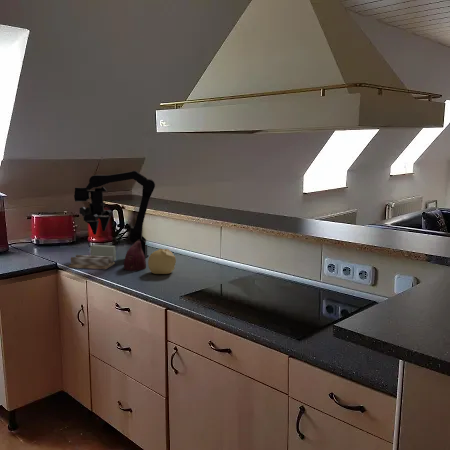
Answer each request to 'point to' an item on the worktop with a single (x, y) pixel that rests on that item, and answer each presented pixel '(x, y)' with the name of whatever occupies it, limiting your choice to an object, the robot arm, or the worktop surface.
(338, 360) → the worktop surface
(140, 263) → the vegetable
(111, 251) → the rectangular block
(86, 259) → the track
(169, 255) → the yellow rounded lump
